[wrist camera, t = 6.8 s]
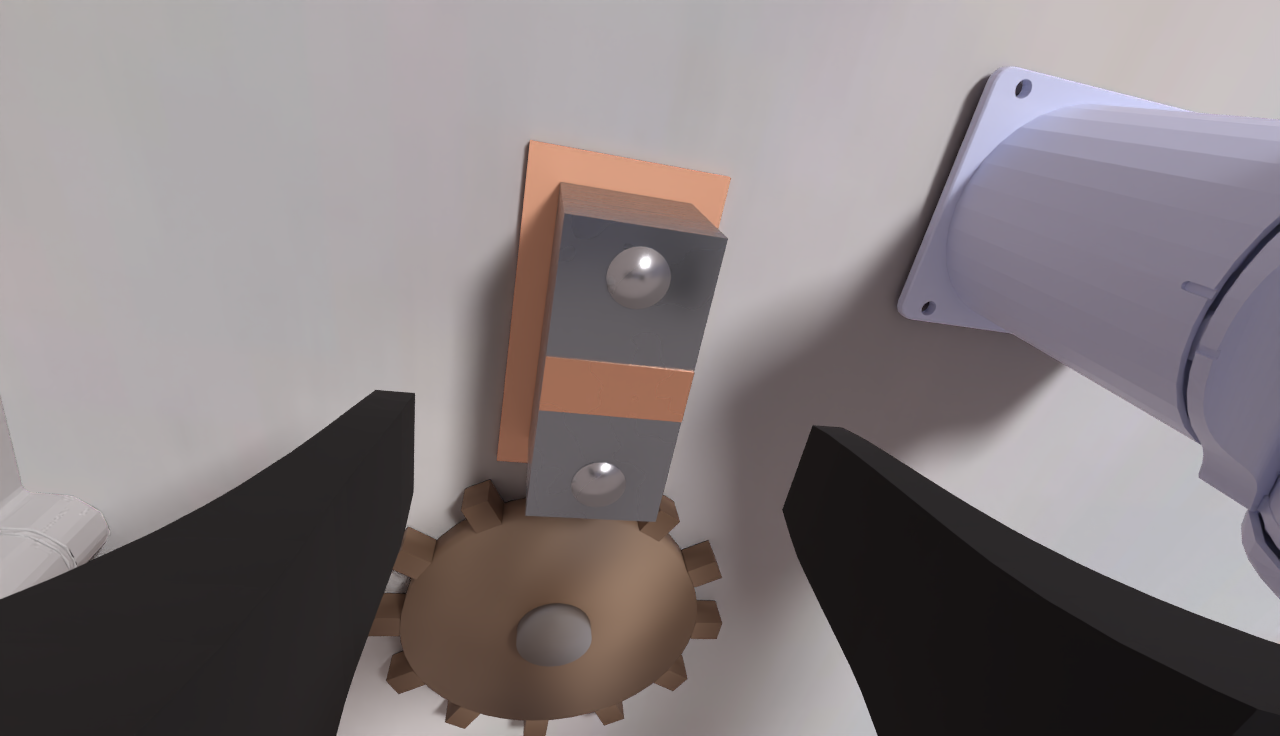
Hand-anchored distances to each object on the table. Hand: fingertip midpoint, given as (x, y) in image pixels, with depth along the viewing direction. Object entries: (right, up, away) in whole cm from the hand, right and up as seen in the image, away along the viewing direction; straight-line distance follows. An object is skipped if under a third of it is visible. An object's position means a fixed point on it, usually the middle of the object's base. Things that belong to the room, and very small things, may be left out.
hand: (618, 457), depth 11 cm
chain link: (-1, +3, +9) cm, 9 cm away
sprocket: (-3, -9, +15) cm, 17 cm away
